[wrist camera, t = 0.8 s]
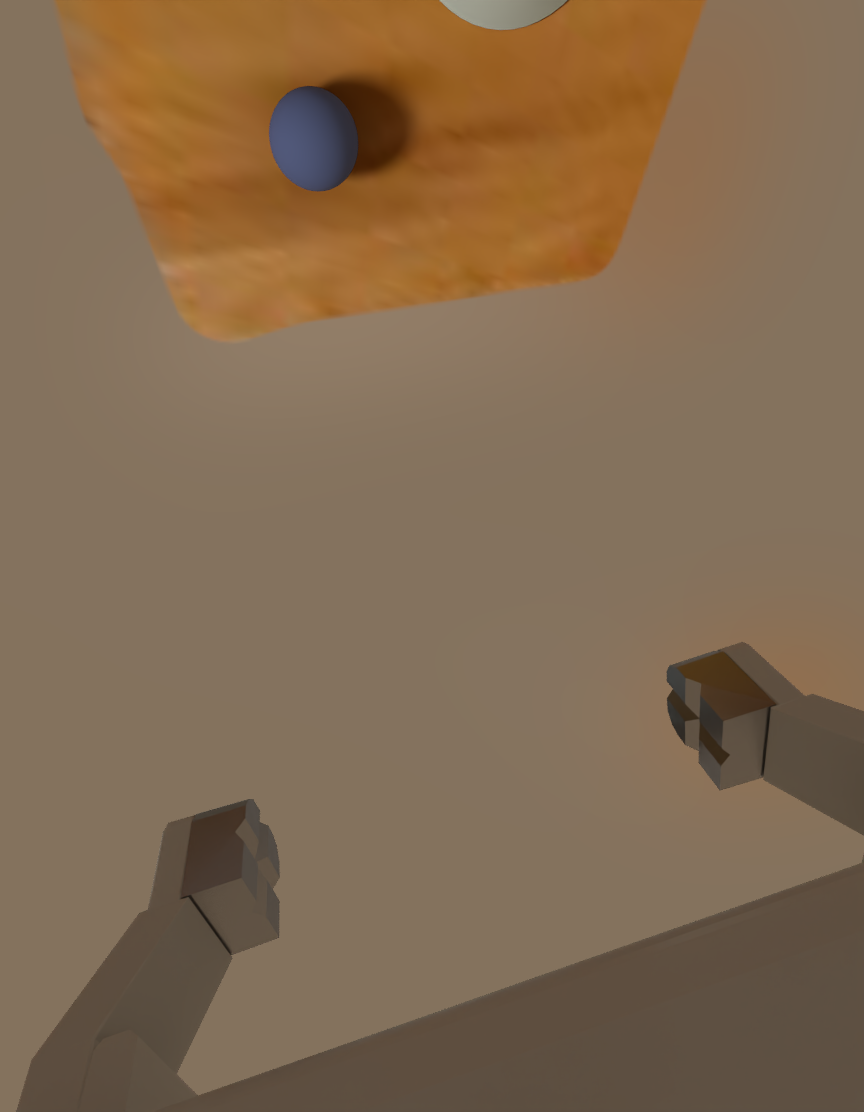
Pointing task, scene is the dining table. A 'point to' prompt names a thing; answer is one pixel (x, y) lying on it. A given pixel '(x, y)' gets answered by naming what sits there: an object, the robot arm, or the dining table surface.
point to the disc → (502, 12)
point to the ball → (313, 138)
